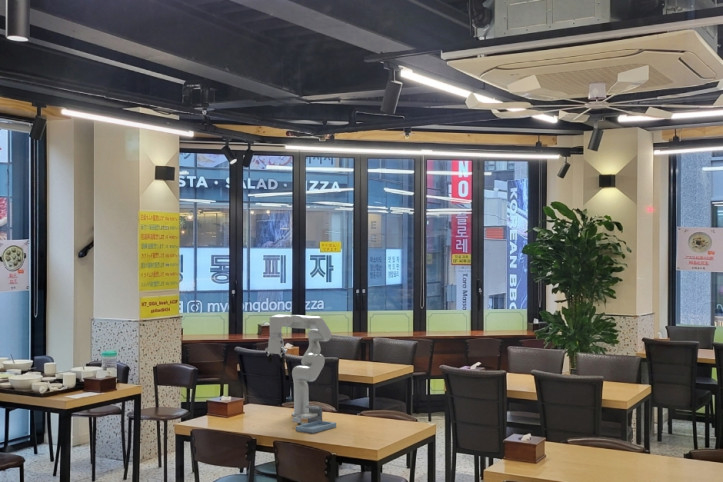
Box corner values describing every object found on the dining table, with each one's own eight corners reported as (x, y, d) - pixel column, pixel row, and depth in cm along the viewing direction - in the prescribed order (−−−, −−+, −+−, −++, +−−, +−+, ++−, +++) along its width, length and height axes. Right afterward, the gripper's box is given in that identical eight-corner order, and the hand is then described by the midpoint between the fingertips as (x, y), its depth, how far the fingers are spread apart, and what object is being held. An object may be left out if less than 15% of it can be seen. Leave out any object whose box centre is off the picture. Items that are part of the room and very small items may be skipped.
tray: (319, 424, 490) (319, 420, 490) (336, 427, 482) (336, 422, 482) (295, 430, 473) (295, 426, 473) (313, 433, 465) (313, 429, 465)
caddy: (310, 422, 498) (310, 412, 498) (318, 423, 494) (317, 413, 494) (292, 426, 485) (292, 416, 485) (300, 428, 481) (300, 418, 481)
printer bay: (310, 421, 500) (310, 404, 501) (322, 422, 495) (322, 406, 495) (297, 424, 491) (297, 408, 491) (309, 426, 485) (309, 409, 485)
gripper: (290, 335, 502) (290, 363, 502) (269, 334, 512) (269, 361, 512) (282, 336, 496) (282, 364, 496) (261, 335, 506) (261, 362, 506)
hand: (275, 362), depth 504 cm, fingers open, 9 cm apart
